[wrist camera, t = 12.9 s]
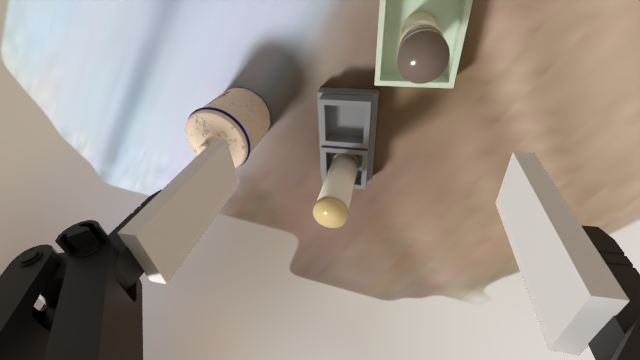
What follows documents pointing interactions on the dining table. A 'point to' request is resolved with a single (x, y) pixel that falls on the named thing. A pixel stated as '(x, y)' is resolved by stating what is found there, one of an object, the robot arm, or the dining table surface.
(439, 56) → the cylinder
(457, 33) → the parts tray
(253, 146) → the teacup with lid
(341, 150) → the fuse block
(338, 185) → the fuse
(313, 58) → the dining table surface
